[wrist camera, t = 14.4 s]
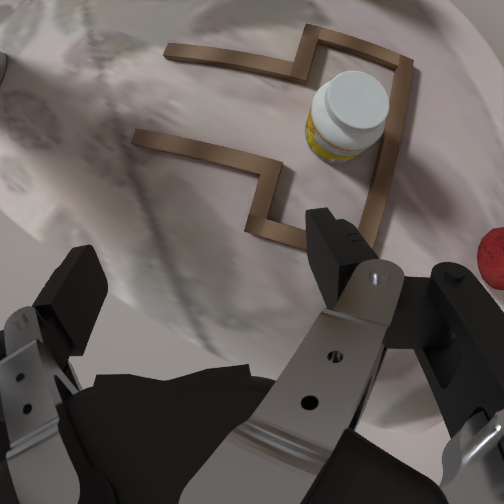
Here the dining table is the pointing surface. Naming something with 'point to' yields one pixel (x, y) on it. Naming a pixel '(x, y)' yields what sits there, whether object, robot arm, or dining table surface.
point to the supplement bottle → (346, 116)
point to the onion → (492, 258)
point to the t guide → (272, 168)
